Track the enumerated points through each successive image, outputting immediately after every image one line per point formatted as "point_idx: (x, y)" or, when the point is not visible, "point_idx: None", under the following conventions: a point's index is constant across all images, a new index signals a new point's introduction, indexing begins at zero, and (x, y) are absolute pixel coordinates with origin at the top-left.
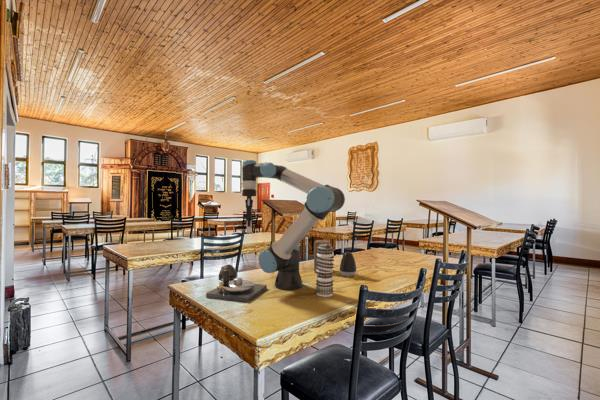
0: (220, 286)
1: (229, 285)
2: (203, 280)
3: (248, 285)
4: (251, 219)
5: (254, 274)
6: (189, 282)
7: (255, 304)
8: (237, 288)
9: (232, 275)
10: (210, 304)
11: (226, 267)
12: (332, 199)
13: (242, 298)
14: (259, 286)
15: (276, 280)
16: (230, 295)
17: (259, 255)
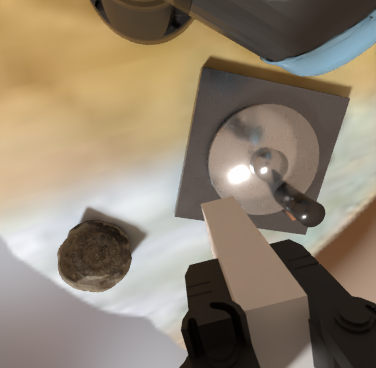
0: None
1: (279, 185)
2: (140, 307)
3: (276, 120)
4: (363, 309)
5: (10, 172)
6: (169, 331)
7: (358, 68)
8: (312, 147)
9: (102, 235)
10: (353, 195)
11: (91, 275)
12: None
13: (342, 116)
14: (224, 91)
15: (168, 27)
16: (325, 159)
17: (353, 58)
